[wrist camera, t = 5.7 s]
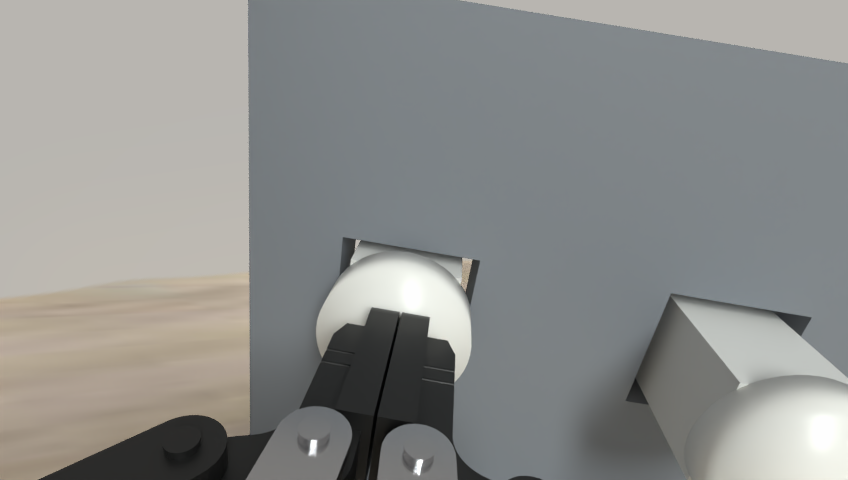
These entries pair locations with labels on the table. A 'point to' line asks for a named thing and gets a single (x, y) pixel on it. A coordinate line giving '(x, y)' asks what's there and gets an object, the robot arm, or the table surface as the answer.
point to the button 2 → (401, 294)
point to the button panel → (539, 205)
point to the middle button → (744, 395)
